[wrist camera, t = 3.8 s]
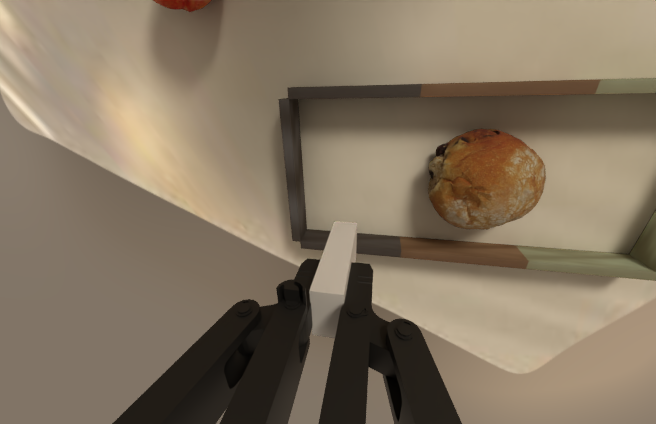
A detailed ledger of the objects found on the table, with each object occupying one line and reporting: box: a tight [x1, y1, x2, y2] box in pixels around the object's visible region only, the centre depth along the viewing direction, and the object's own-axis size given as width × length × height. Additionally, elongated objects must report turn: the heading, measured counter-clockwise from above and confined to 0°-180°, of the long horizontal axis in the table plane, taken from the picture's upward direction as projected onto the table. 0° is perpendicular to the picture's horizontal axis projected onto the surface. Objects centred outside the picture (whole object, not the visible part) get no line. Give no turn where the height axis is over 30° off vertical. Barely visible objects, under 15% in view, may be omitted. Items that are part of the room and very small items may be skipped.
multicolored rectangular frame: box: [279, 78, 656, 281], centre depth 26 cm, size 18×38×3 cm, turn 91°
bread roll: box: [428, 129, 546, 229], centre depth 25 cm, size 10×10×8 cm
